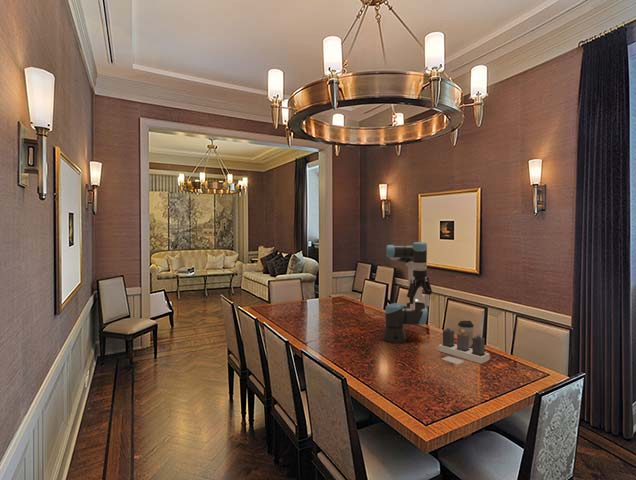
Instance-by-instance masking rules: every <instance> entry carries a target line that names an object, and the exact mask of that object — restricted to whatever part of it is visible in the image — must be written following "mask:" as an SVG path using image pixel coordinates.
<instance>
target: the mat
mask: <svg viewBox="0 0 636 480" xmlns="http://www.w3.org/2000/svg"><path fill="white" fill-rule="evenodd" d="M441 360H442V361H446V362H448V363H449V362H450V363H453V364H455V365H460V364H462V363H464V362H465V360H464V359H461V358H457V357H454V356H453V357H452V356H451V355H447V356H445V357H443V358H441Z"/></svg>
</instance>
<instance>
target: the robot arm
mask: <svg viewBox="0 0 636 480" xmlns="http://www.w3.org/2000/svg"><path fill="white" fill-rule="evenodd" d="M385 248H386V251H385V252H386V255H385V256H386V258H389V259H390V260H391V261H394V262H398V263H405V266H406V267H407V273H408V274H407V275H408V277H407V279H408V282H407V283H408V289H407V290H408V291H407V293H406V297H407V298H408V301H407V303H406V305H404V304H403V303H402V302H401V303H400V302H393V303H388V304H387V305H386V306H385V310H384V313H385V316H384V317H385V322H384V324H385V328H384V331H383V334H382V340H383V341H384V342H387V343H390V344H391V343H392V344H401V343H405V342H406V341H407V334H406V332H405V329H404V327H405V326H404V325H417V326H424V325H426V323H427V321H428V320H427V319H428V314H429V313H428V312H429V310H428V307H430V296H431V295H432V293H433V290H432V286H431V283H430V278H429V277H428V271H427V269H428V260H427V259H428V256H427V255H428V245H427V243H426V242H424V241H415V242H413V243H412V244H387V245H386V247H385ZM423 291H424V301H423Z"/></svg>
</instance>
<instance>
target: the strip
mask: <svg viewBox="0 0 636 480" xmlns="http://www.w3.org/2000/svg"><path fill="white" fill-rule="evenodd" d="M485 343H486V342H485V338H484V337H482V336H481V333H479V332H477V333H476V336H473V338H472V347H469V350H468V351H466V352H464V351H460V350H457V344H456V343H455V331H454V330H453V329H451V326H449V325H448V326H446V328H445V329H444V330H442V343H440V344H438V345H437V352H439V353H444V354H445V355H448V356H451V357H452V356H453V357H455V358H458V359H461V360H464V361H465V360H466V361H469V362H472V363H475V364H479V365H483V364H485V363H487V362H489V361H491V360H490V358H491V357H490V356H491V355H490V353H488V352H485V345H486V344H485Z"/></svg>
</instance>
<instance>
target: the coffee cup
mask: <svg viewBox="0 0 636 480" xmlns="http://www.w3.org/2000/svg"><path fill="white" fill-rule="evenodd" d="M457 323H458V324H457V326H458V331H457V332H458V334H459V333H461V330H465V334H469V348H472V338H474V326H475V325H474V323H472V321H471V320H460V321H459V322H457Z"/></svg>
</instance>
